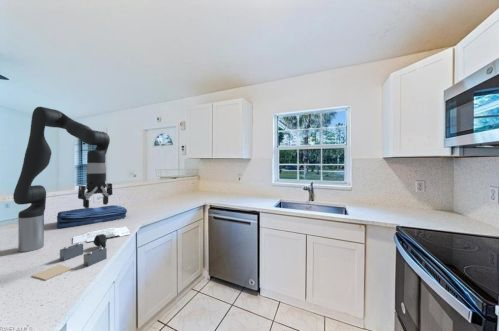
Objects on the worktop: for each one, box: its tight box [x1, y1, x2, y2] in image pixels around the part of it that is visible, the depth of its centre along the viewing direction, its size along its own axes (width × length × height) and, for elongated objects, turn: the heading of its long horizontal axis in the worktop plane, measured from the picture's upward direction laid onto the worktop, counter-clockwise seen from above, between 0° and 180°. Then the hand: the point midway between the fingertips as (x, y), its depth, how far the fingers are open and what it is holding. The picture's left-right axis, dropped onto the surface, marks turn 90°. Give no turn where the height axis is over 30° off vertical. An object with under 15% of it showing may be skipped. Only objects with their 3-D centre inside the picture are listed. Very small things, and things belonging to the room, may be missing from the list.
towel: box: [56, 204, 128, 230], centre depth 161 cm, size 24×43×10 cm, turn 136°
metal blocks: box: [59, 243, 108, 267], centre depth 95 cm, size 19×8×6 cm, turn 72°
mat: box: [31, 264, 74, 281], centre depth 83 cm, size 9×9×1 cm
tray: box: [72, 226, 131, 245], centre depth 127 cm, size 20×28×4 cm
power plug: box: [92, 234, 108, 248], centre depth 107 cm, size 6×8×12 cm
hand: (96, 206), depth 97 cm, fingers open, 8 cm apart
